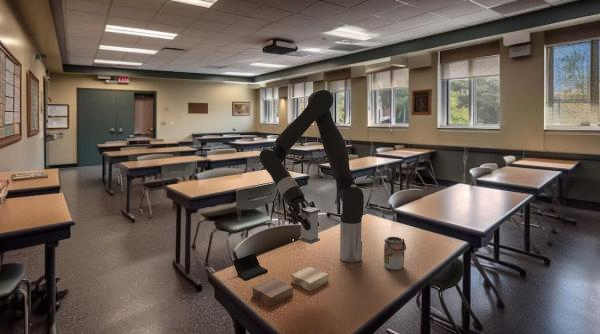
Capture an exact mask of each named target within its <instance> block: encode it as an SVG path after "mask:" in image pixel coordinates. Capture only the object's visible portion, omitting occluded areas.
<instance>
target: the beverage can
mask: <svg viewBox="0 0 600 334" xmlns="http://www.w3.org/2000/svg"><path fill="white" fill-rule="evenodd" d="M406 250H407V245H406V243H405V239H404V238H401V237H398V236H388V237H387V238H386V239H384V244H383V266H384V267H385V268H386V269H387V270H389V269H390V270H389V271H394V270H397V271H401V270H403V268H404V267H405V252H406Z"/></svg>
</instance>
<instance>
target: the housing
mask: <svg viewBox="0 0 600 334" xmlns="http://www.w3.org/2000/svg"><path fill="white" fill-rule="evenodd" d="M300 210H301V212H302V213H303V215H304V217H305V220H307V222H308V223H309V225H310V227H311V229H310V230H308V231H306V230H305V229H304V227H303V225H302V224H301V223H300V237H298V241H301V242H304V243H307V244H309V245H312V244H314V243H317V242H320V241H321V238H320V237H319V226H318V222H319V213H320V212H321V209H320V208H317V207H316V208H313V207H304V208H303V209H299V212H300Z"/></svg>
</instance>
